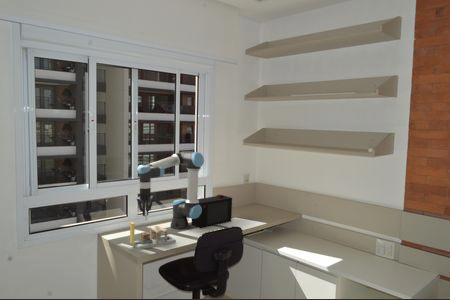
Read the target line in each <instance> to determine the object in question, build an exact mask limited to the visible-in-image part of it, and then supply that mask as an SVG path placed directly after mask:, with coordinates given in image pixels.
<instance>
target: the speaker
mask: <svg viewBox="0 0 450 300" xmlns="http://www.w3.org/2000/svg"><path fill="white" fill-rule="evenodd" d="M197 200H198V201H199V205H200V206H201V207H202V212H201V214H200V216H199V217H198V218H196V219H193V218H191V226H193V227H196V228H198V229H205V228H206V229H207V228H209V227H213V226H219V225H222V224H225V223H231V222H232V215H233V213H232V212H233V211H232V210H233V197H230V196H227V195H223V194H217V195H215V196H208V197H203V198H197Z"/></svg>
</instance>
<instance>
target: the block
mask: <svg viewBox="0 0 450 300" xmlns="http://www.w3.org/2000/svg"><path fill="white" fill-rule="evenodd" d="M140 238H141V240H142V241H146V240H150V232H148V231H145V232H140Z"/></svg>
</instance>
